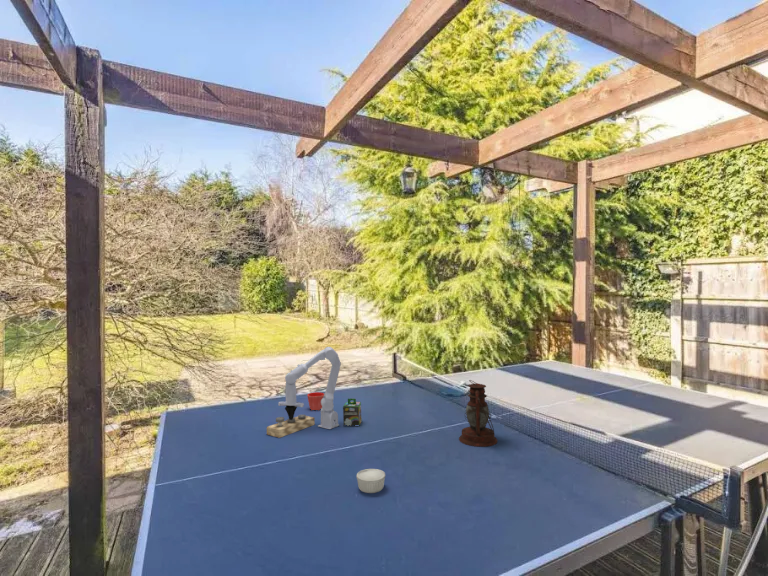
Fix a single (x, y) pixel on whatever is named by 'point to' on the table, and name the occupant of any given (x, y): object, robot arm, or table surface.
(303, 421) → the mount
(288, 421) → the plunger
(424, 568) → the table surface
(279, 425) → the plunger
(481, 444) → the lantern
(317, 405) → the flower pot
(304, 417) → the plunger
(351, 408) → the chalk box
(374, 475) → the ramekin
